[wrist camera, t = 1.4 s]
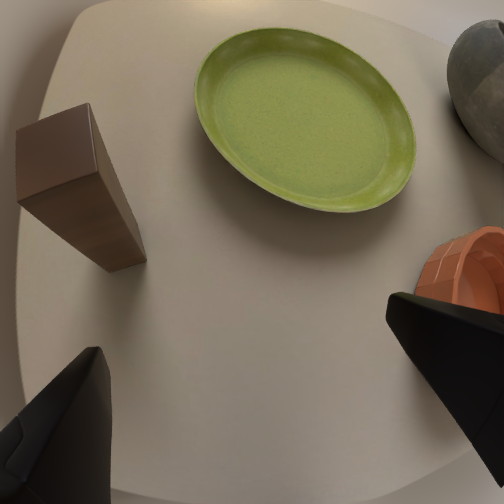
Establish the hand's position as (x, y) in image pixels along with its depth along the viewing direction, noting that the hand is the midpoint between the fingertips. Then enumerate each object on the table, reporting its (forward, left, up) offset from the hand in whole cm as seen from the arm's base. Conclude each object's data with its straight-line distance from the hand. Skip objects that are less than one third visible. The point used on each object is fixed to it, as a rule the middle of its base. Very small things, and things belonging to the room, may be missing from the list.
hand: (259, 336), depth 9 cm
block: (+4, +8, -14) cm, 16 cm away
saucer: (+20, -3, -14) cm, 24 cm away
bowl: (+34, -28, -14) cm, 46 cm away
